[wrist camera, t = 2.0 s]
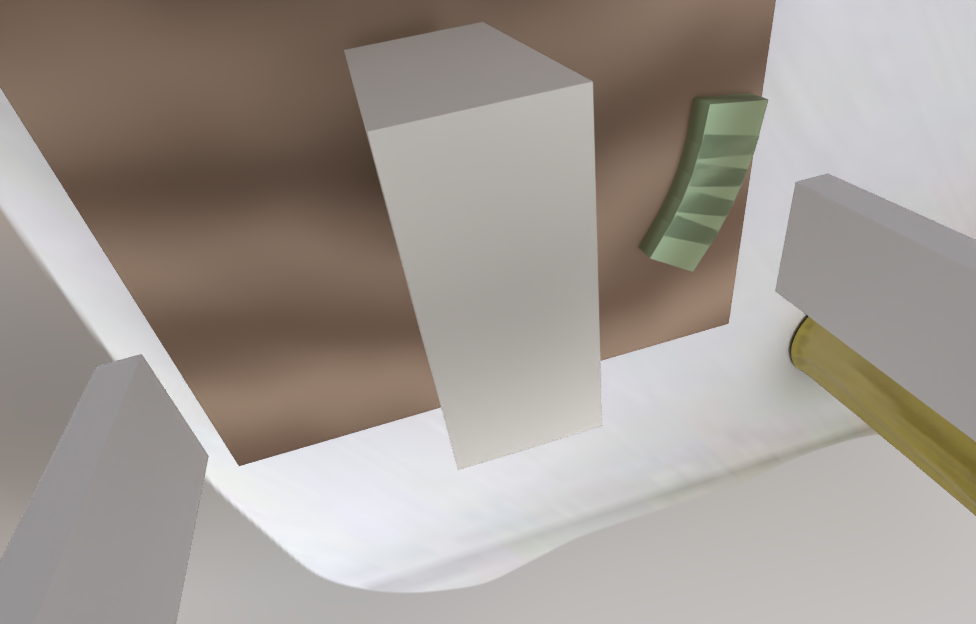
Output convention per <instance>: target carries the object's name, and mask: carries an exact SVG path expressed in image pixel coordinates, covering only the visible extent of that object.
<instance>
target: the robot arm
mask: <svg viewBox="0 0 976 624" xmlns="http://www.w3.org/2000/svg"><path fill="white" fill-rule="evenodd" d="M775 291H776V292H777V293H778V294H780V295H781V296H782V297H784V298H785V299H786V300H788V301H789V302H790V303H792V304H793V305H794V306H796V307H797V308H798V309H800V310H801V311H802V312H804V313H805V314H806V315H808V316H809V317H810V318H812V319H813V320H814V321H816V322H817V323H818V324H819V325H821V326H822V327H823V328H825V329H826V330H827V331H829V332H830V333H831V334H833V335H834V336H835V337H837V338H838V339H839V340H841V341H842V342H843V343H845V344H846V345H847V346H849V347H850V348H851V349H853V350H854V351H855V352H857V353H858V354H859V355H861V356H862V357H863V358H865V359H866V360H867V361H869V362H870V363H871V364H873V365H874V366H875V367H877V368H878V369H879V370H881V371H882V372H883V373H885V374H886V375H887V376H889V377H890V378H891V379H893V380H894V381H895V382H897V383H898V384H899V385H901V386H902V387H903V388H905V389H906V390H907V391H909V392H910V393H911V394H913V395H914V396H915V397H917V398H918V399H919V400H921V401H922V402H923V403H925V404H926V405H927V406H929V407H930V408H931V409H933V410H934V411H935V412H936V413H938V414H939V415H940V416H942V417H943V418H944V419H946V420H947V421H948V422H950V423H951V424H952V425H954V426H955V427H956V428H958V429H959V430H960V431H962V432H963V433H964V434H966V435H967V436H968V437H970V438H971V439H972V440H974V441H975V442H976V240H975V239H973V238H970V237H968V236H966V235H964V234H962V233H959V232H957V231H955V230H953V229H950V228H948V227H946V226H944V225H942V224H939V223H937V222H935V221H933V220H930V219H928V218H926V217H924V216H922V215H919V214H917V213H915V212H913V211H910V210H908V209H906V208H904V207H901V206H899V205H897V204H895V203H893V202H890V201H888V200H886V199H884V198H881V197H879V196H877V195H875V194H873V193H870V192H868V191H866V190H864V189H861V188H859V187H857V186H855V185H853V184H850V183H848V182H846V181H844V180H841V179H839V178H837V177H835V176H832V175H830V174H824V175H820V176H816V177H813V178H809V179H805V180H801V181H797V182H796V183H795V188H794V194H793V199H792V204H791V210H790V215H789V220H788V226H787V231H786V236H785V242H784V247H783V252H782V258H781V263H780V269H779V274H778V279H777V285H776V290H775ZM207 462H208V454H207V453H206V451H205V450H204V448H203V447H202V445H201V444H200V442H199V441H198V439H197V438H196V436H195V435H194V433H193V432H192V430H191V428H190V427H189V425H188V424H187V422H186V421H185V419H184V418H183V416H182V415H181V413H180V412H179V410H178V409H177V407H176V406H175V404H174V403H173V401H172V400H171V398H170V396H169V395H168V393H167V392H166V390H165V389H164V387H163V386H162V384H161V383H160V381H159V380H158V378H157V377H156V375H155V374H154V372H153V371H152V369H151V367H150V366H149V364H148V363H147V361H146V360H145V358H144V357H143V355H142V354H141V355H137V356H133V357H129V358H125V359H122V360H118V361H114V362H110V363H106V364H103V365H99V366H96V368H95V370H94V372H93V374H92V376H91V378H90V380H89V382H88V384H87V386H86V389H85V390H84V393H83V394H82V396H81V398H80V400H79V403H78V404H77V406H76V408H75V411H74V413H73V415H72V416H71V419H70V420H69V423H68V425H67V427H66V429H65V431H64V433H63V435H62V437H61V439H60V441H59V443H58V445H57V447H56V449H55V451H54V453H53V455H52V457H51V459H50V461H49V463H48V465H47V467H46V469H45V471H44V473H43V475H42V477H41V479H40V481H39V483H38V485H37V487H36V489H35V491H34V493H33V495H32V497H31V499H30V501H29V503H28V505H27V507H26V509H25V511H24V513H23V515H22V517H21V519H20V521H19V523H18V525H17V527H16V529H15V531H14V533H13V535H12V537H11V539H10V541H9V543H8V545H7V547H6V550H5V551H4V554H3V555H2V557H1V559H0V624H176V621H177V616H178V612H179V606H180V601H181V596H182V591H183V585H184V580H185V575H186V570H187V565H188V560H189V555H190V550H191V544H192V539H193V534H194V529H195V524H196V518H197V513H198V508H199V502H200V498H201V493H202V487H203V482H204V477H205V472H206V467H207Z"/></svg>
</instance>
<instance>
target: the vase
mask: <svg viewBox="0 0 976 624" xmlns="http://www.w3.org/2000/svg"><path fill="white" fill-rule="evenodd" d="M791 358H792V361H793V363H794V365H795V367H796V368H798V369H799V370H801V371H803V372H804V373H806V374H807V375H809V376H810V377H811V378H812V379H813V380H815V381H816V382H817V383H818V384H819V385H821V386H822V387H823V388H824V389H825V390H827V391H828V392H829V393H830V394H831V395H833V396H834V397H835V398H836V399H837V400H839V401H840V402H841V403H842V404H844V405H845V406H846V407H847V408H848V409H850V410H851V411H852V412H853V413H855V414H856V415H857V416H858V417H860V418H861V419H862V420H863V421H864V422H865V423H867V424H868V425H869V426H870V427H871V428H872V429H874V430H875V431H876V432H877V433H878V434H879V435H881V436H882V437H883V438H884V439H885V440H887V441H888V442H889V443H890V444H892V445H893V446H894V447H895V448H896V449H897V450H899V451H900V452H901V453H902V454H903V455H905V456H906V457H907V458H908V459H909V460H911V461H912V462H913V463H914V464H915V465H916V466H918V467H919V468H920V469H921V470H922V471H923V472H925V473H926V474H927V475H928V476H929V477H931V478H932V479H933V480H934V481H935V482H937V483H938V484H939V485H940V486H941V487H943V488H944V489H945V490H946V491H947V492H948V493H950V494H951V495H952V496H953V497H954V498H956V499H957V500H958V501H959V502H960V503H962V504H963V505H964V506H965V507H966V508H967V509H969V510H970V511H971V512H972V513H973V514H974V515H975V516H976V442H975V441H974V440H972V439H971V438H970V437H968V436H967V435H966V434H964V433H963V432H962V431H960V430H959V429H958V428H956V427H955V426H954V425H952V424H951V423H950V422H948V421H947V420H946V419H944V418H943V417H942V416H940V415H939V414H938V413H936V412H935V411H934V410H933V409H931V408H930V407H929V406H927V405H926V404H925V403H923V402H922V401H921V400H919V399H918V398H917V397H915V396H914V395H913V394H911V393H910V392H909V391H907V390H906V389H905V388H903V387H902V386H901V385H899V384H898V383H897V382H895V381H894V380H893V379H891V378H890V377H889V376H887V375H886V374H885V373H883V372H882V371H881V370H879V369H878V368H877V367H875V366H874V365H873V364H871V363H870V362H869V361H867V360H866V359H865V358H863V357H862V356H861V355H859V354H858V353H857V352H855V351H854V350H853V349H851V348H850V347H849V346H847V345H846V344H845V343H843V342H842V341H841V340H839V339H838V338H837V337H835V336H834V335H833V334H831V333H830V332H829V331H827V330H826V329H825V328H823V327H822V326H821V325H819V324H818V323H817V322H816V321H814V320H813V319H812V318H810V317H809V316H808V317H807V318H806V320H805V321H804V322H803V323H802V325H801V326H800V328H799V329H798V331H797V333H796V335H795V337H794V340H793V343H792V346H791Z"/></svg>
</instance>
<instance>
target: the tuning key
mask: <svg viewBox="0 0 976 624" xmlns="http://www.w3.org/2000/svg"><path fill="white" fill-rule="evenodd" d="M344 53H345V56H346V60H347V64H348V67H349V71H350V75H351V78H352V82H353V86H354V90H355V93H356V97H357V101H358V104H359V108H360V112H361V115H362V119H363V123H364V127H365V130H366V134H367V138H368V141H369V145H370V149H371V152H372V156H373V160H374V164H375V167H376V171H377V175H378V178H379V182H380V186H381V189H382V193H383V197H384V201H385V204H386V208H387V212H388V215H389V219H390V223H391V226H392V230H393V234H394V238H395V241H396V245H397V249H398V252H399V256H400V260H401V263H402V267H403V271H404V275H405V278H406V282H407V286H408V289H409V293H410V297H411V300H412V304H413V308H414V311H415V315H416V319H417V322H418V326H419V330H420V333H421V337H422V341H423V344H424V348H425V351H426V355H427V359H428V362H429V366H430V370H431V373H432V377H433V380H434V384H435V388H436V391H437V395H438V399H439V402H440V406H441V410H442V413H443V417H444V420H445V424H446V428H447V431H448V435H449V439H450V442H451V446H452V449H453V453H454V457H455V460H456V464H457V468H458V470H461V469H464V468H467V467H470V466H474V465H477V464H480V463H483V462H487V461H490V460H493V459H496V458H500V457H503V456H506V455H509V454H513V453H516V452H519V451H522V450H526V449H529V448H532V447H535V446H539V445H542V444H545V443H548V442H552V441H555V440H558V439H561V438H565V437H568V436H571V435H574V434H578V433H581V432H584V431H587V430H591V429H594V428H597V427H600V426H602V402H601V364H600V327H599V290H598V253H597V216H596V179H595V142H594V105H593V81H591V80H589V79H587V78H586V77H584V76H582V75H580V74H578V73H576V72H575V71H573V70H571V69H569V68H567V67H565V66H563V65H562V64H560V63H558V62H556V61H554V60H552V59H551V58H549V57H547V56H545V55H543V54H541V53H539V52H538V51H536V50H534V49H532V48H530V47H528V46H526V45H525V44H523V43H521V42H519V41H517V40H515V39H514V38H512V37H510V36H508V35H506V34H504V33H502V32H501V31H499V30H497V29H495V28H493V27H491V26H490V25H488V24H486V23H484V22H479V23H474V24H469V25H464V26H460V27H455V28H450V29H445V30H440V31H435V32H430V33H425V34H420V35H415V36H410V37H405V38H400V39H395V40H391V41H386V42H381V43H376V44H371V45H366V46H361V47H356V48H351V49H346V50H344Z"/></svg>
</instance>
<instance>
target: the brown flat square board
mask: <svg viewBox="0 0 976 624" xmlns="http://www.w3.org/2000/svg"><path fill="white" fill-rule="evenodd" d="M775 2H776V0H0V88H1V89H2V91H3V92H4V94H5V96H6V97H7V99H8V100H9V102H10V103H11V105H12V107H13V108H14V110H15V111H16V113H17V115H18V116H19V118H20V119H21V121H22V123H23V124H24V126H25V127H26V129H27V130H28V132H29V134H30V135H31V137H32V138H33V140H34V142H35V143H36V145H37V146H38V148H39V150H40V151H41V153H42V154H43V156H44V157H45V159H46V161H47V162H48V164H49V165H50V167H51V169H52V170H53V172H54V173H55V175H56V176H57V178H58V180H59V181H60V183H61V184H62V186H63V188H64V189H65V191H66V192H67V194H68V196H69V197H70V199H71V200H72V202H73V203H74V205H75V207H76V208H77V210H78V211H79V213H80V215H81V216H82V218H83V219H84V221H85V223H86V224H87V226H88V227H89V229H90V230H91V232H92V234H93V235H94V237H95V238H96V240H97V242H98V243H99V245H100V246H101V248H102V249H103V251H104V253H105V254H106V256H107V257H108V259H109V261H110V262H111V264H112V265H113V267H114V269H115V270H116V272H117V273H118V275H119V276H120V278H121V280H122V281H123V283H124V284H125V286H126V288H127V289H128V291H129V292H130V294H131V296H132V297H133V299H134V300H135V302H136V303H137V305H138V307H139V308H140V310H141V311H142V313H143V315H144V316H145V318H146V319H147V321H148V323H149V324H150V326H151V327H152V329H153V330H154V332H155V334H156V335H157V337H158V338H159V340H160V342H161V343H162V345H163V346H164V348H165V349H166V351H167V353H168V354H169V356H170V357H171V359H172V361H173V362H174V364H175V365H176V367H177V369H178V370H179V372H180V373H181V375H182V376H183V378H184V380H185V381H186V383H187V384H188V386H189V388H190V389H191V391H192V392H193V394H194V396H195V397H196V399H197V400H198V402H199V403H200V405H201V407H202V408H203V410H204V411H205V413H206V415H207V416H208V418H209V419H210V421H211V422H212V424H213V426H214V427H215V429H216V430H217V432H218V434H219V435H220V437H221V438H222V440H223V442H224V443H225V445H226V446H227V448H228V449H229V451H230V453H231V454H232V456H233V457H234V459H235V461H236V462H237V464H238V465H239V466H241V465H245V464H248V463H251V462H255V461H258V460H262V459H265V458H269V457H272V456H275V455H279V454H282V453H286V452H289V451H293V450H296V449H300V448H303V447H306V446H310V445H313V444H317V443H320V442H324V441H327V440H330V439H334V438H337V437H341V436H344V435H348V434H351V433H354V432H358V431H361V430H365V429H368V428H372V427H375V426H378V425H382V424H385V423H389V422H392V421H396V420H399V419H402V418H406V417H409V416H413V415H416V414H420V413H423V412H427V411H430V410H433V409H437V408H440V407H441V406H440V402H439V399H438V395H437V391H436V388H435V384H434V380H433V377H432V373H431V370H430V366H429V362H428V359H427V355H426V351H425V348H424V344H423V341H422V337H421V333H420V330H419V326H418V322H417V319H416V315H415V311H414V308H413V304H412V300H411V297H410V293H409V289H408V286H407V282H406V278H405V275H404V271H403V267H402V263H401V260H400V256H399V252H398V249H397V245H396V241H395V238H394V234H393V230H392V226H391V223H390V219H389V215H388V212H387V208H386V204H385V201H384V197H383V193H382V189H381V186H380V182H379V178H378V175H377V171H376V167H375V164H374V160H373V156H372V152H371V149H370V145H369V141H368V138H367V134H366V130H365V127H364V123H363V119H362V115H361V112H360V108H359V104H358V101H357V97H356V93H355V90H354V86H353V82H352V78H351V75H350V71H349V67H348V64H347V60H346V56H345V53H344V50H346V49H351V48H356V47H361V46H366V45H371V44H376V43H381V42H386V41H391V40H395V39H400V38H405V37H410V36H415V35H420V34H425V33H430V32H435V31H440V30H445V29H450V28H455V27H460V26H464V25H469V24H474V23H479V22H484V23H486V24H488V25H490V26H491V27H493V28H495V29H497V30H499V31H501V32H502V33H504V34H506V35H508V36H510V37H512V38H514V39H515V40H517V41H519V42H521V43H523V44H525V45H526V46H528V47H530V48H532V49H534V50H536V51H538V52H539V53H541V54H543V55H545V56H547V57H549V58H551V59H552V60H554V61H556V62H558V63H560V64H562V65H563V66H565V67H567V68H569V69H571V70H573V71H575V72H576V73H578V74H580V75H582V76H584V77H586V78H587V79H589V80H591V81H593V105H594V142H595V179H596V216H597V253H598V290H599V327H600V361H602V360H605V359H608V358H612V357H615V356H619V355H622V354H626V353H629V352H632V351H636V350H639V349H643V348H646V347H650V346H653V345H657V344H660V343H663V342H667V341H670V340H674V339H677V338H681V337H684V336H687V335H691V334H694V333H698V332H701V331H705V330H708V329H711V328H715V327H718V326H722V325H725V324H729V317H730V310H731V303H732V296H733V289H734V283H735V276H736V269H737V262H738V255H739V248H740V241H741V235H742V228H743V221H744V214H745V207H746V200H747V194H748V187H749V180H750V173H751V166H752V159H753V154H754V151H755V148H756V144H757V141H758V138H759V133H760V129H761V125H762V122H763V118H764V114H765V111H766V107H767V103H768V99H765V98H762V91H763V84H764V77H765V70H766V63H767V57H768V50H769V43H770V36H771V29H772V22H773V15H774V9H775Z"/></svg>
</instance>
